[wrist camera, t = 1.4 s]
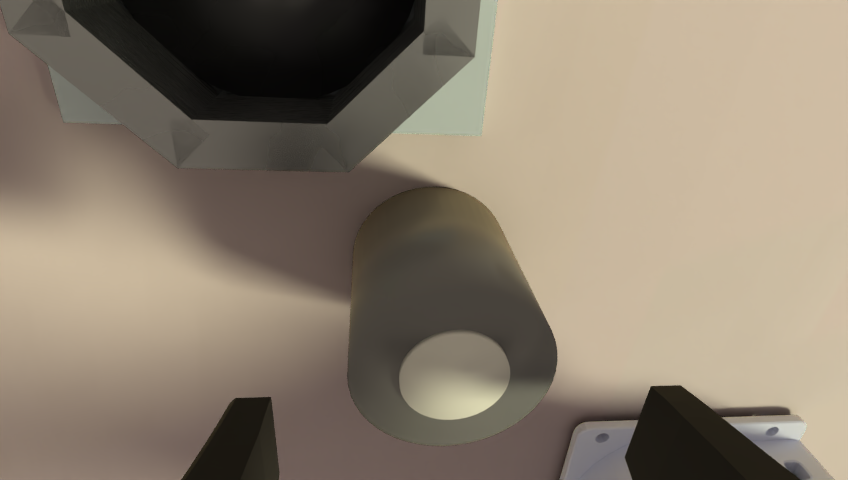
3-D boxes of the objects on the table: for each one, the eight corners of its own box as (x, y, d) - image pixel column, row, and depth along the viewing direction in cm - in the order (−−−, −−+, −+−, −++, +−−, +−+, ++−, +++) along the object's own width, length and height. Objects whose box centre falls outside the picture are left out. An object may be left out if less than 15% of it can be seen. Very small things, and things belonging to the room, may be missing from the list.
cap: (514, 188, 15) (580, 290, 10) (494, 317, 17) (540, 449, 12) (352, 184, 14) (345, 291, 10) (353, 318, 16) (347, 456, 12)
